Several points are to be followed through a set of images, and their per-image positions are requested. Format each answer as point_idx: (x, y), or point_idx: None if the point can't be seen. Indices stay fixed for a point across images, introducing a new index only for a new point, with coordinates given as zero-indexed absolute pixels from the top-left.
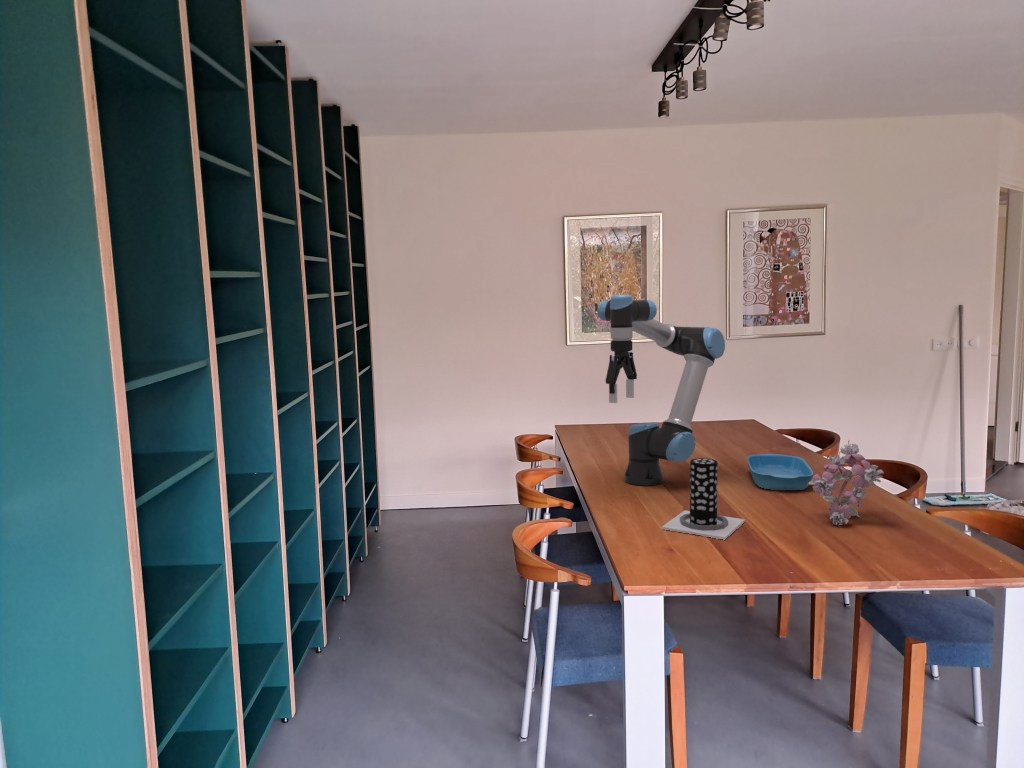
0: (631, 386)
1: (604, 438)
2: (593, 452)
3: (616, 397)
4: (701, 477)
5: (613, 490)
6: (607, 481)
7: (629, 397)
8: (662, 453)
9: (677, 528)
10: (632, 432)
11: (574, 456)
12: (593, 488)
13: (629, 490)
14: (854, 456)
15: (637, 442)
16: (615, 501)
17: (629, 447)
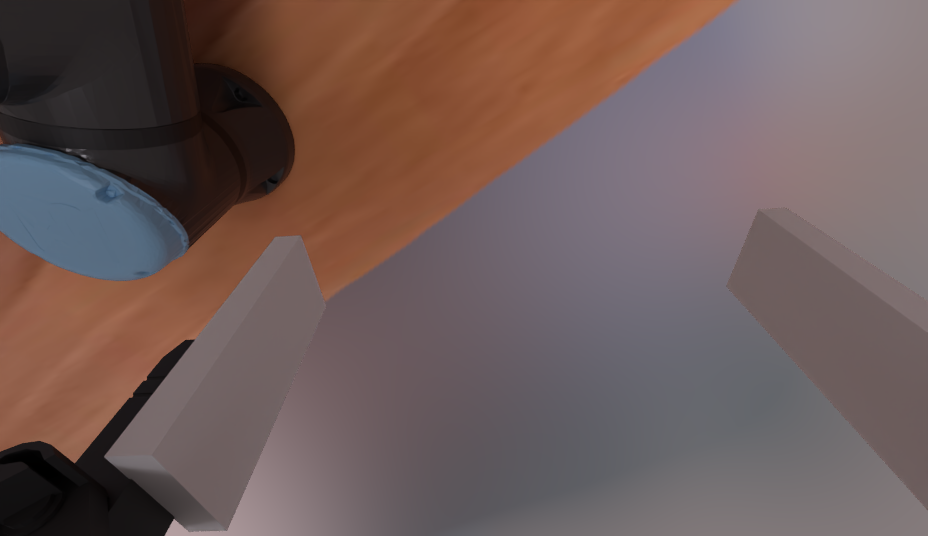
0: (243, 358)
1: (6, 416)
2: (128, 376)
3: (836, 244)
4: None
5: (386, 161)
6: (318, 222)
7: (313, 276)
8: (185, 21)
9: None
10: (179, 237)
11: None
12: (405, 217)
13: (353, 119)
14: None
15: (200, 188)
16: (488, 92)
17: (215, 221)
